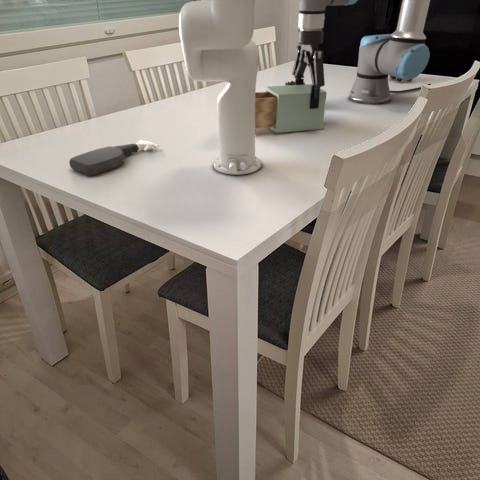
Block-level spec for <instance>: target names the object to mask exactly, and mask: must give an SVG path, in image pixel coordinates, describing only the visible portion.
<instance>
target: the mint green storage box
mask: <svg viewBox="0 0 480 480" xmlns="http://www.w3.org/2000/svg"><path fill="white" fill-rule="evenodd" d="M311 86H312V83H310V84H309V83H308V84H306V83H305V85H287V86H285V85H270V86H269V85H268V86H265V91H264V92H270V93H272V94H273V95H275V96H276V97H278V98H277V113H276V127H270V129H271V130H272V131H273V132H274V133H277V134H278V133H290V132H301V131H313V130H323V127H324V126H323V125H324V118H325V110H326V102H327V101H326V100H327V91H326V90H324V89H322V88H320V95H319V108H316V109H310V96H311Z"/></svg>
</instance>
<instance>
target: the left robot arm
mask: <svg viewBox="0 0 480 480" xmlns="http://www.w3.org/2000/svg"><path fill="white" fill-rule="evenodd" d="M255 11H256V0H192V1H188V2H186V3H184V4H183V6H182V7H181V9H180V12H179V17H178V30H179V31H178V32H179V38H180V43H181V50H182V54H183V60H184V64H185V65H184V66H185V70H186V73H187V76H188V77H189V78H190V79H191V80H192V81H195V82H201V83H203V82H205V83H207V82H222V83H223V82H225V83H226V84H225V86H224V87H223V88H222V90H221V91H220V92H219V94H218V96H217V100H216V110H217V111H216V112H217V133H218V135H217V136H218V137H217V138H218V157H216V158H215V159H214V160H213V167H214V169H215V170H216V171H217V172H219V173H222V174H226V175H233V176H234V175H238V176H239V175H247V174H252V173H254V172H256V171H258V170H259V169H260V168H261V166H262V161H261V159H260V158H259V157H258V156H256V129H255V92H256V90H257V89H256V88H257V76H258V70H259V63H260V50H259V47H258V44H257V43H256V42H255V41H254V40H252V39H253V36H254V29H255V14H256V13H255Z"/></svg>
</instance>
